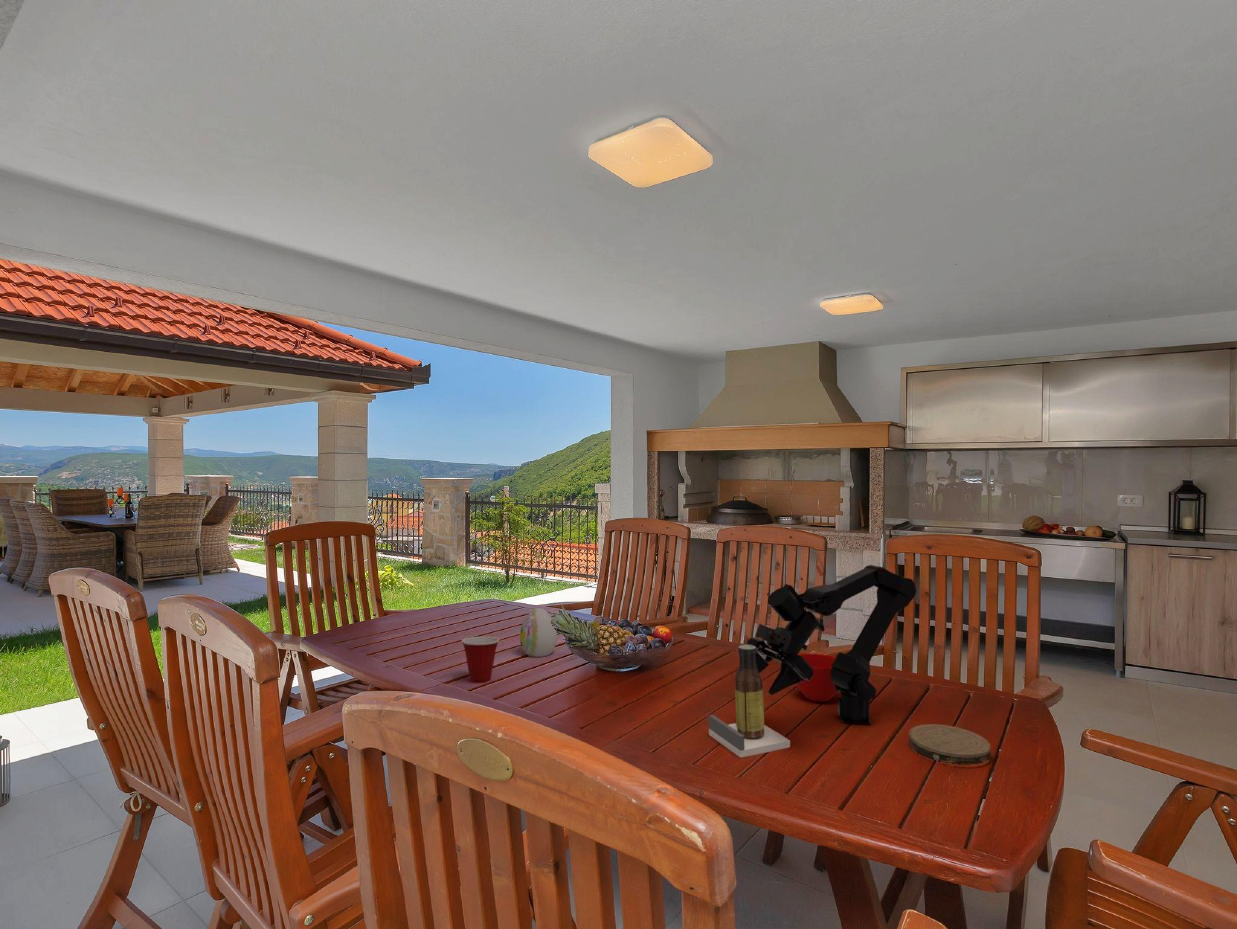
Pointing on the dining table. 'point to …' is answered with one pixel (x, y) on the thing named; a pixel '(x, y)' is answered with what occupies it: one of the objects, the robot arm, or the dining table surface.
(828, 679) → the ceramic cup
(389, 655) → the dining table surface
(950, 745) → the grey-brown flat disc
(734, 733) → the display stand
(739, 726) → the sauce bottle
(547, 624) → the decorative egg
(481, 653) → the plastic cup
